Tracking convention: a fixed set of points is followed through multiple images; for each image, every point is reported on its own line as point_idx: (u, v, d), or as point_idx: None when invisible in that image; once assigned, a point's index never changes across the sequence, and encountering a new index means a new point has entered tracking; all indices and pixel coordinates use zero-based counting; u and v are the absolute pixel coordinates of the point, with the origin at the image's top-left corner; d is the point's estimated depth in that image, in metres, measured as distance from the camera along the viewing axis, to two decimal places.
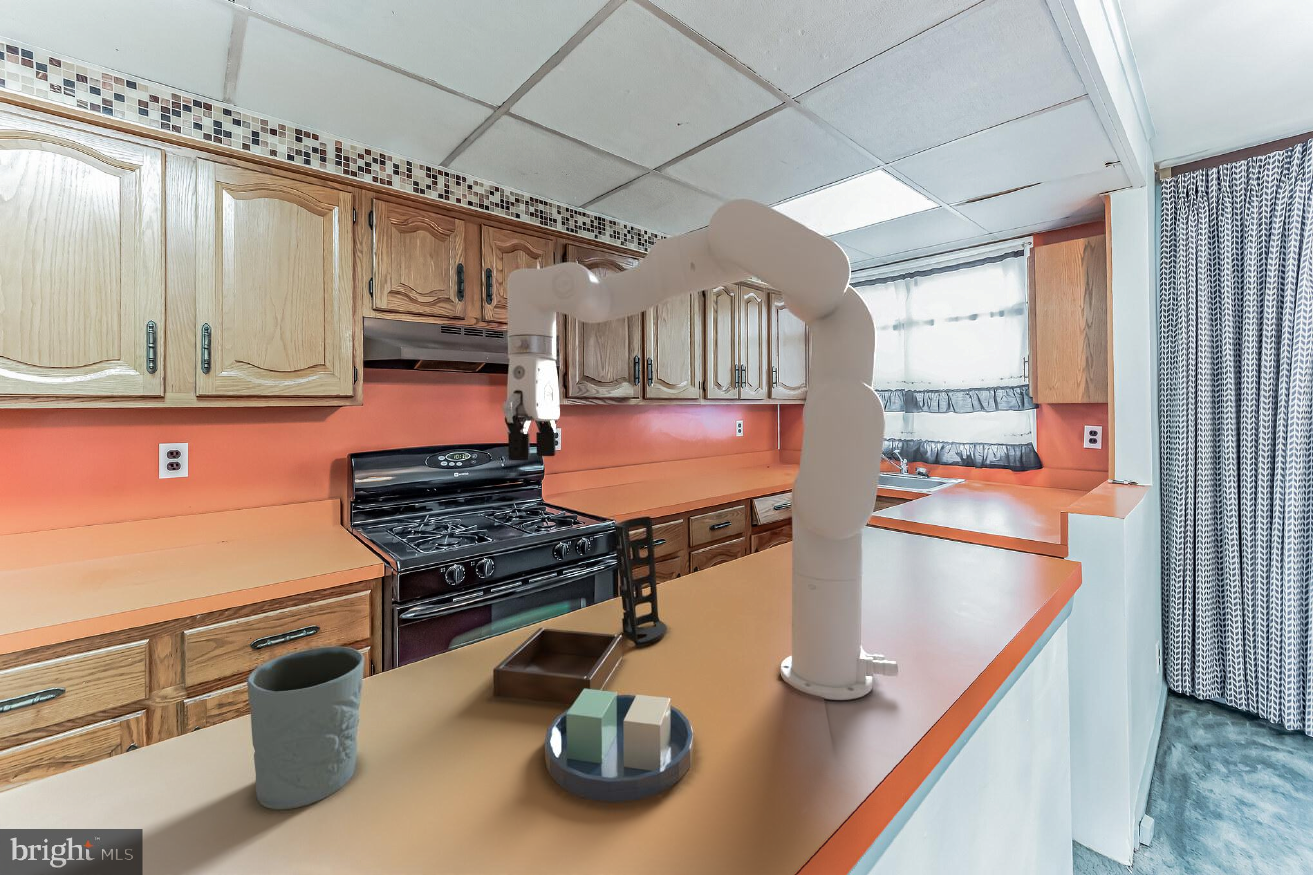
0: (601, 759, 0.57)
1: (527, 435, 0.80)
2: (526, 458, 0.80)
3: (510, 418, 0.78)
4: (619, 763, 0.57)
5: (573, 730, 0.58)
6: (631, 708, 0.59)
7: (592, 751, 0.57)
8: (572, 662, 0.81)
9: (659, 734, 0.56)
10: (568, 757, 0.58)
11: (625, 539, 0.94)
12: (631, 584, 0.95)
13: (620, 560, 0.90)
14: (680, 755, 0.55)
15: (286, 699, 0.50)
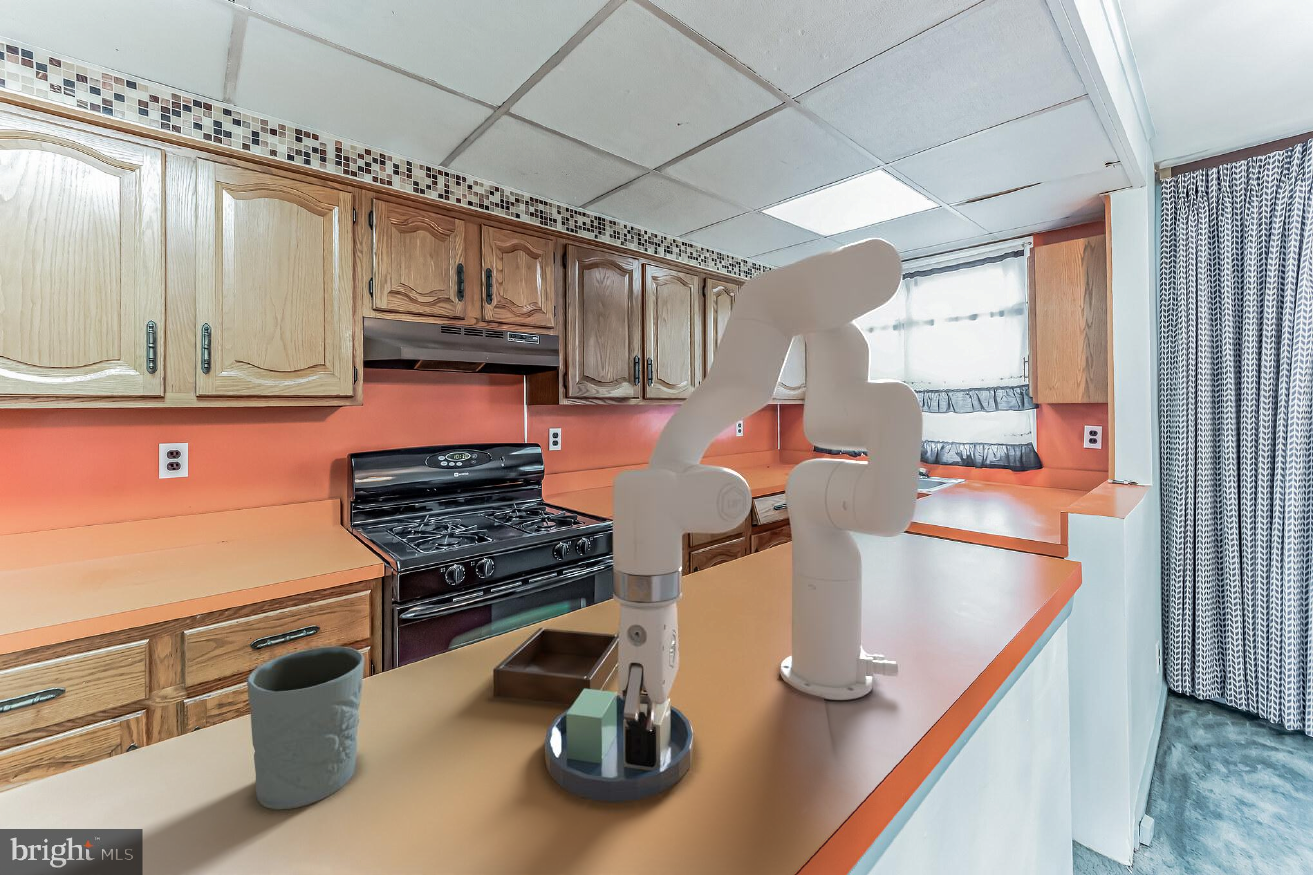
0: (601, 759, 0.57)
1: (654, 731, 0.55)
2: (652, 764, 0.55)
3: None
4: (619, 763, 0.57)
5: (573, 730, 0.58)
6: None
7: (592, 751, 0.57)
8: (572, 662, 0.81)
9: (659, 734, 0.56)
10: (568, 757, 0.58)
11: None
12: None
13: None
14: (680, 755, 0.55)
15: (286, 699, 0.50)
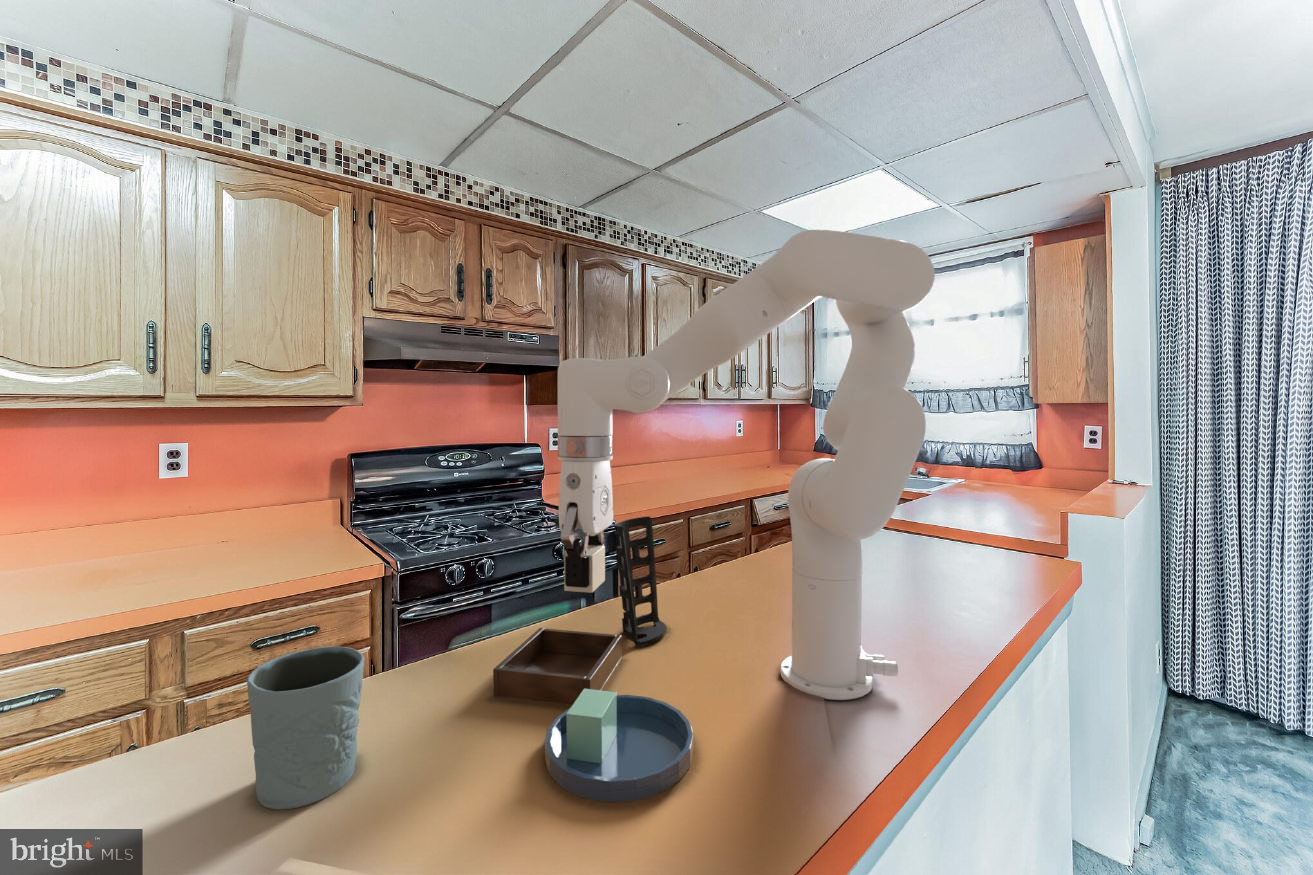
0: (601, 759, 0.57)
1: (587, 559, 0.71)
2: (586, 585, 0.71)
3: None
4: (619, 763, 0.57)
5: (573, 730, 0.58)
6: None
7: (592, 751, 0.57)
8: (572, 662, 0.81)
9: (591, 562, 0.71)
10: (568, 757, 0.58)
11: (625, 539, 0.94)
12: (631, 584, 0.95)
13: (620, 560, 0.90)
14: (680, 755, 0.55)
15: (286, 699, 0.50)
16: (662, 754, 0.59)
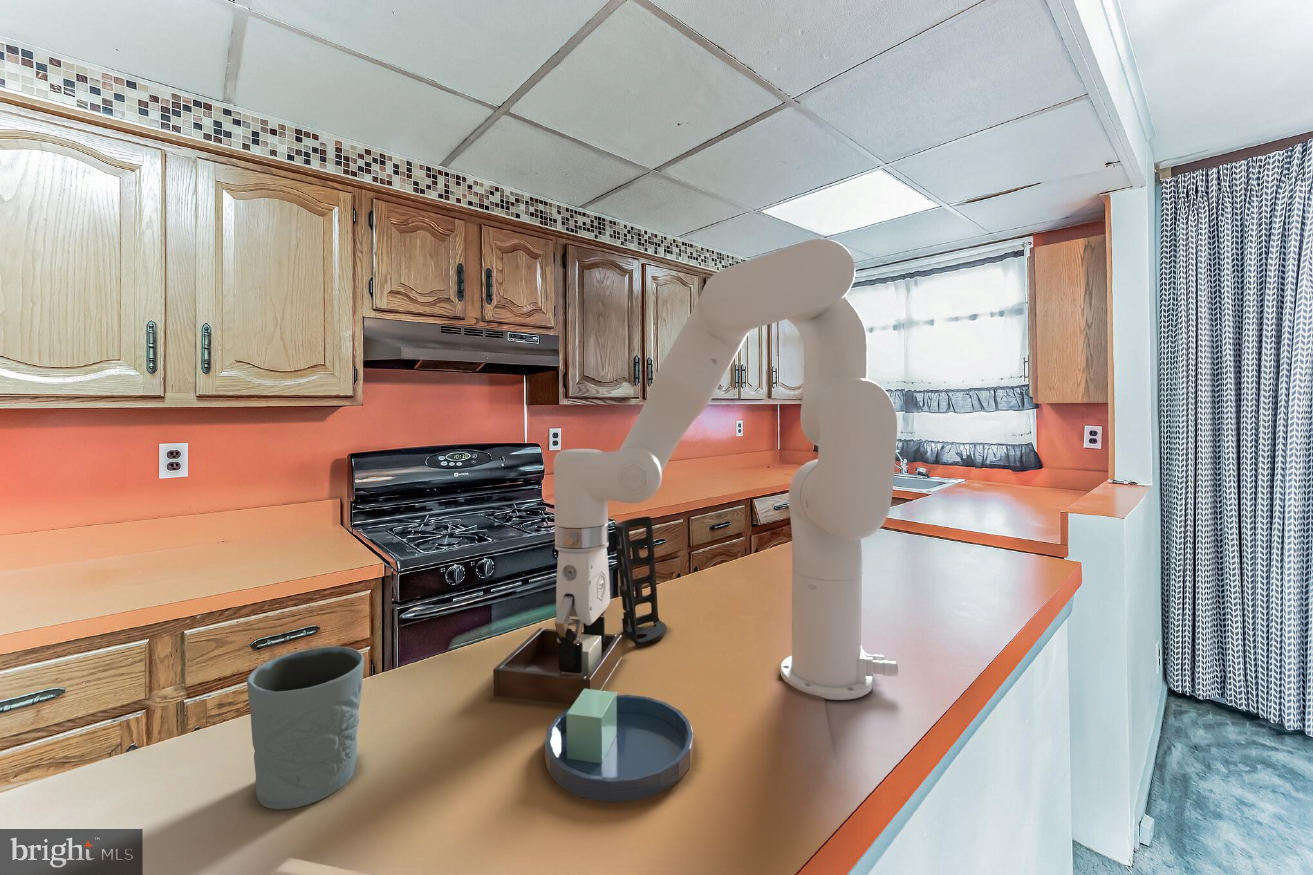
0: (601, 759, 0.57)
1: (580, 645, 0.71)
2: (579, 671, 0.71)
3: (563, 633, 0.69)
4: (619, 763, 0.57)
5: (573, 730, 0.58)
6: None
7: (592, 751, 0.57)
8: None
9: (587, 658, 0.73)
10: (568, 757, 0.58)
11: (625, 539, 0.94)
12: (631, 584, 0.95)
13: (620, 560, 0.90)
14: (680, 755, 0.55)
15: (286, 699, 0.50)
16: (662, 754, 0.59)
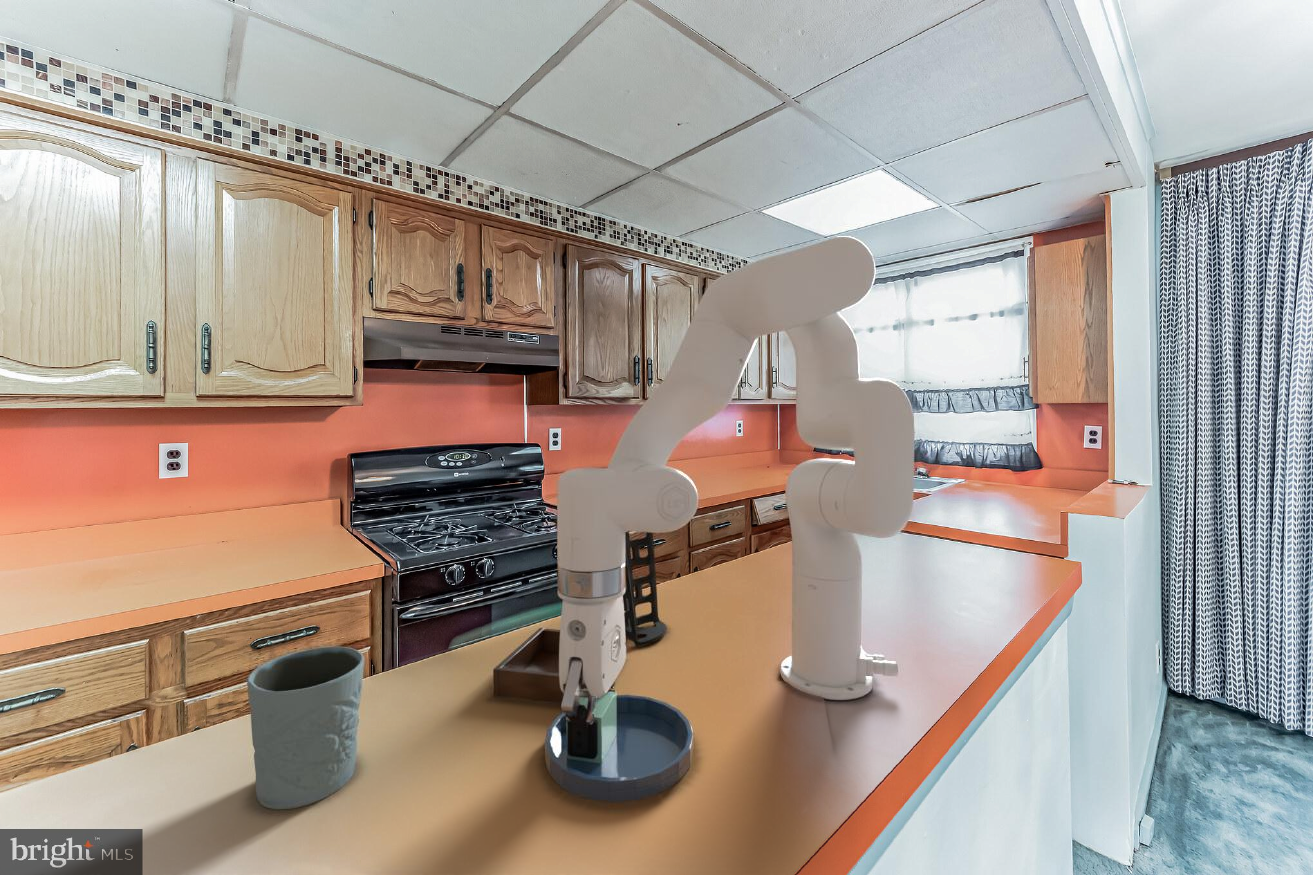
0: (601, 759, 0.57)
1: (595, 724, 0.57)
2: (593, 756, 0.57)
3: None
4: (619, 763, 0.57)
5: None
6: None
7: None
8: None
9: None
10: (568, 757, 0.58)
11: (625, 539, 0.94)
12: (631, 584, 0.95)
13: None
14: (680, 755, 0.55)
15: (286, 699, 0.50)
16: (662, 754, 0.59)
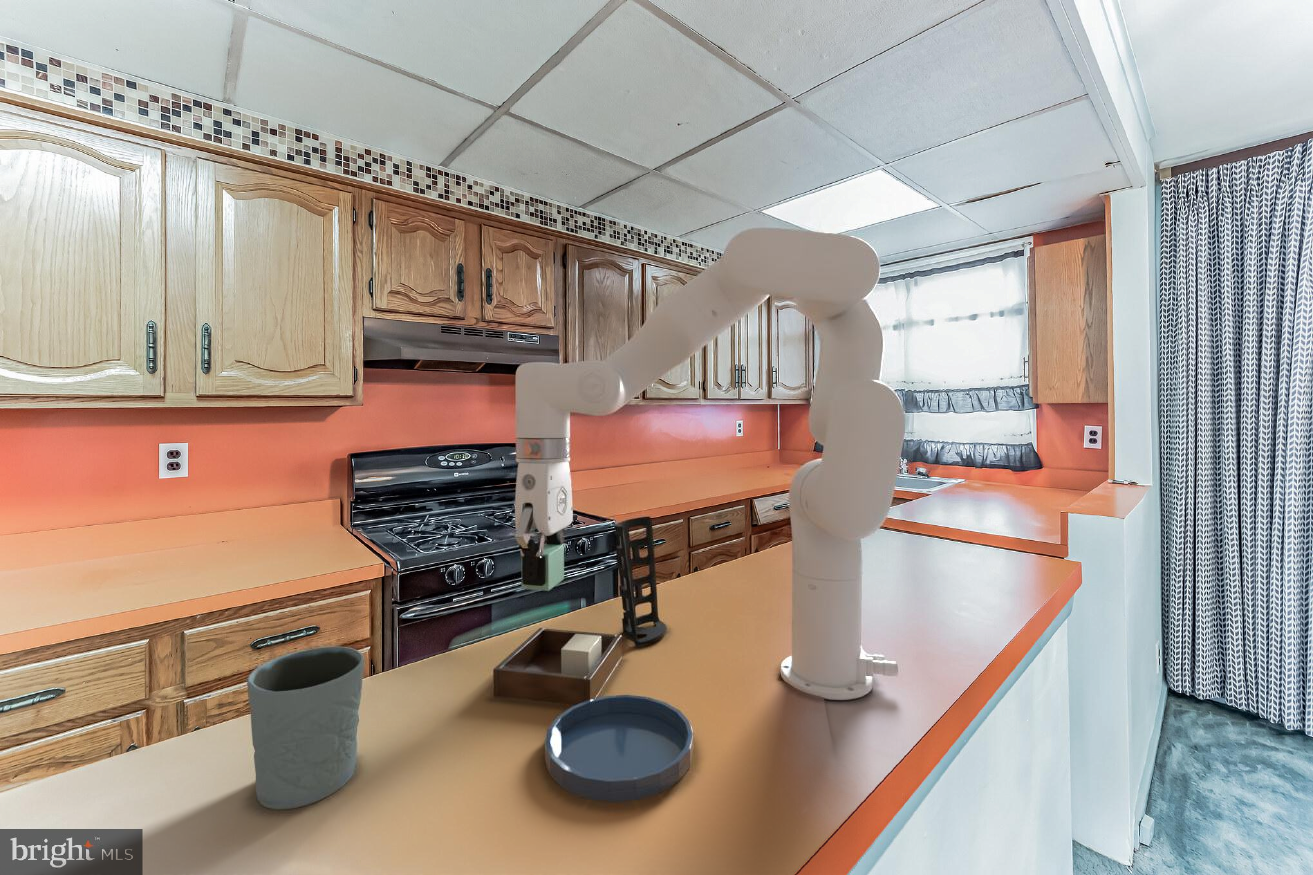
0: (548, 587, 0.73)
1: (543, 558, 0.72)
2: (542, 583, 0.73)
3: None
4: (619, 763, 0.57)
5: None
6: (569, 642, 0.76)
7: None
8: None
9: (587, 658, 0.73)
10: (523, 587, 0.74)
11: (625, 539, 0.94)
12: (631, 584, 0.95)
13: (620, 560, 0.90)
14: (680, 755, 0.55)
15: (286, 699, 0.50)
16: (662, 754, 0.59)
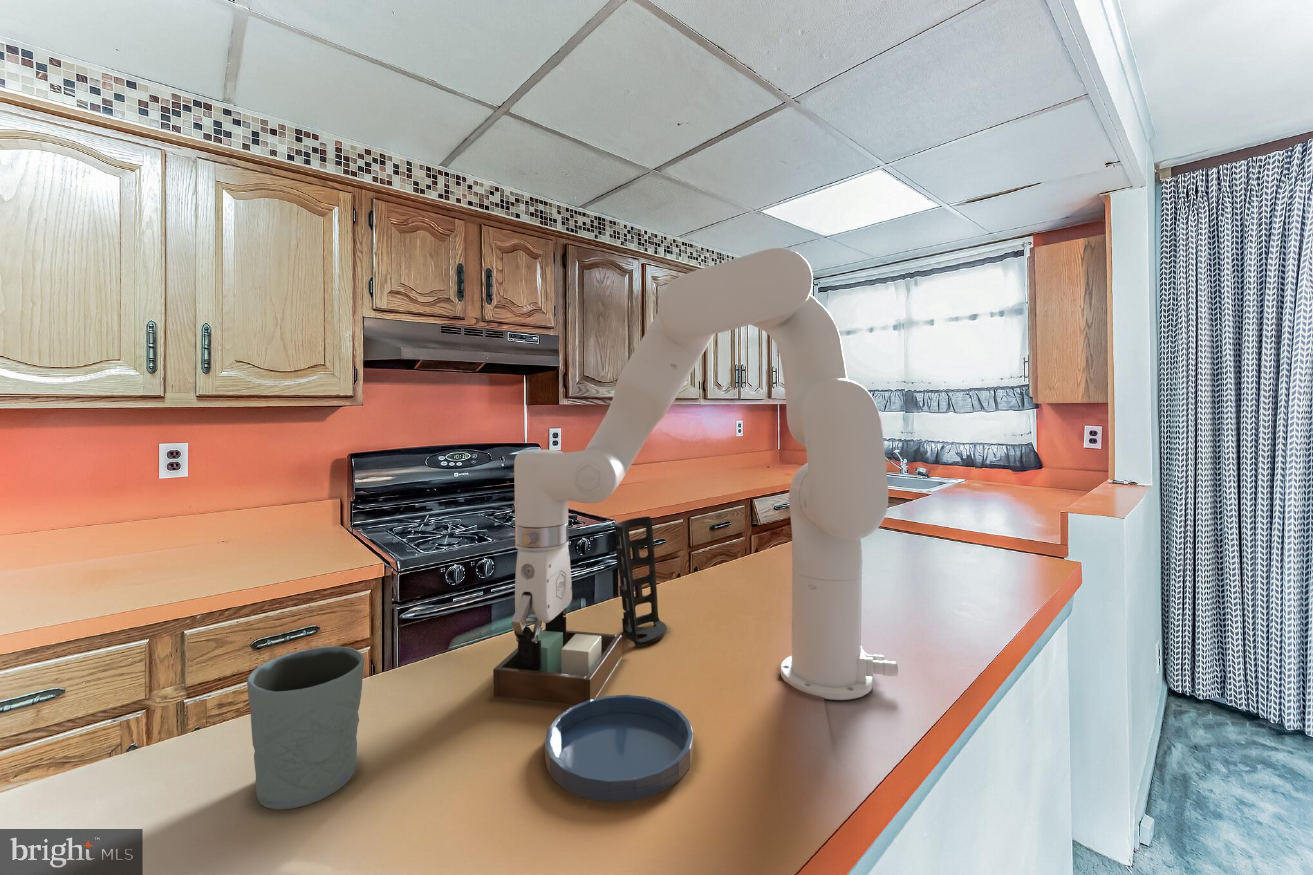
0: None
1: (539, 643, 0.73)
2: (538, 668, 0.73)
3: (520, 631, 0.70)
4: (619, 763, 0.57)
5: None
6: (569, 642, 0.76)
7: None
8: None
9: (587, 658, 0.73)
10: None
11: (625, 539, 0.94)
12: (631, 584, 0.95)
13: (620, 560, 0.90)
14: (680, 755, 0.55)
15: (286, 699, 0.50)
16: (662, 754, 0.59)
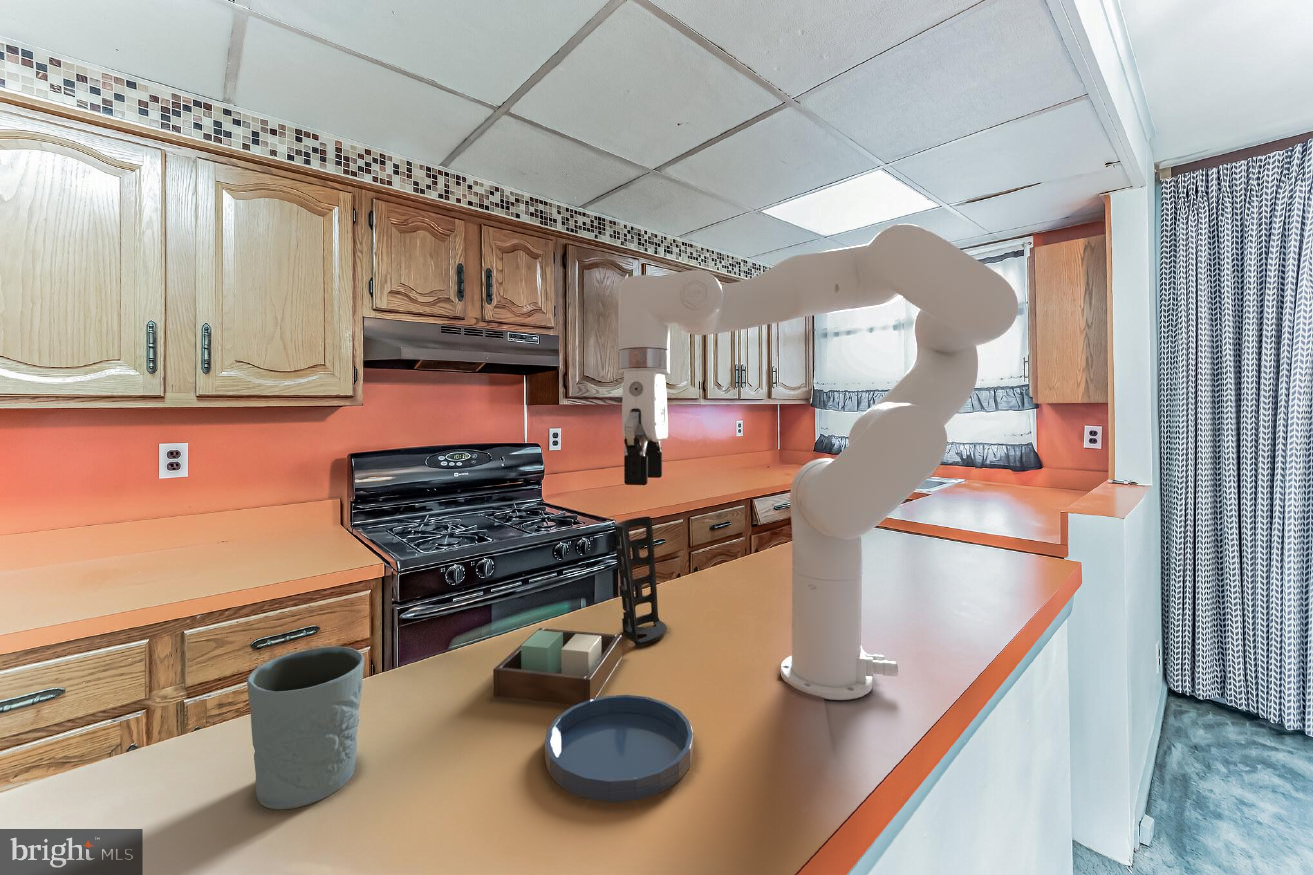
0: None
1: (646, 458, 0.73)
2: (644, 483, 0.73)
3: (631, 440, 0.71)
4: (619, 763, 0.57)
5: (526, 658, 0.75)
6: (569, 642, 0.76)
7: None
8: None
9: (587, 658, 0.73)
10: None
11: (625, 539, 0.94)
12: (631, 584, 0.95)
13: (620, 560, 0.90)
14: (680, 755, 0.55)
15: (286, 699, 0.50)
16: (662, 754, 0.59)
